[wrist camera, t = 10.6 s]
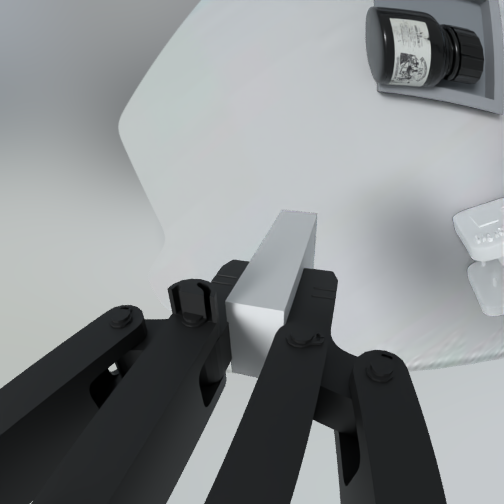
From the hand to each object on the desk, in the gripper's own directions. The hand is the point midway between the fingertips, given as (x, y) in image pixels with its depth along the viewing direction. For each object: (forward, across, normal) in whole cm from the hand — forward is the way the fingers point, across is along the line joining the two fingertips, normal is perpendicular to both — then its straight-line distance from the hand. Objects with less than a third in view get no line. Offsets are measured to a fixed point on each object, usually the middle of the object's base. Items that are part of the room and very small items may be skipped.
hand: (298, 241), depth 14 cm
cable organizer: (+29, -25, +8) cm, 39 cm away
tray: (+29, -13, -16) cm, 35 cm away
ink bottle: (+23, -4, -12) cm, 26 cm away
